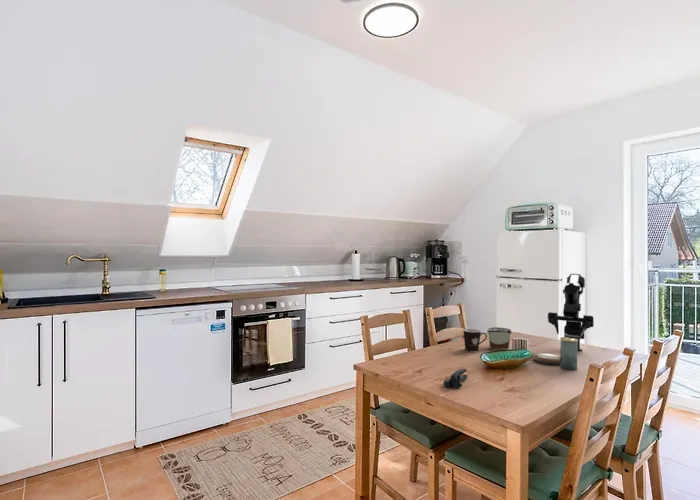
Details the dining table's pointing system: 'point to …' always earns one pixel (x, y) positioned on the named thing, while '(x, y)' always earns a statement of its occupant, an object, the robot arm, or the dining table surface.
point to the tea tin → (568, 353)
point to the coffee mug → (472, 339)
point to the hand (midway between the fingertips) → (568, 334)
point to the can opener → (456, 379)
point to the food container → (499, 337)
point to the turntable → (547, 357)
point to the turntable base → (547, 363)
